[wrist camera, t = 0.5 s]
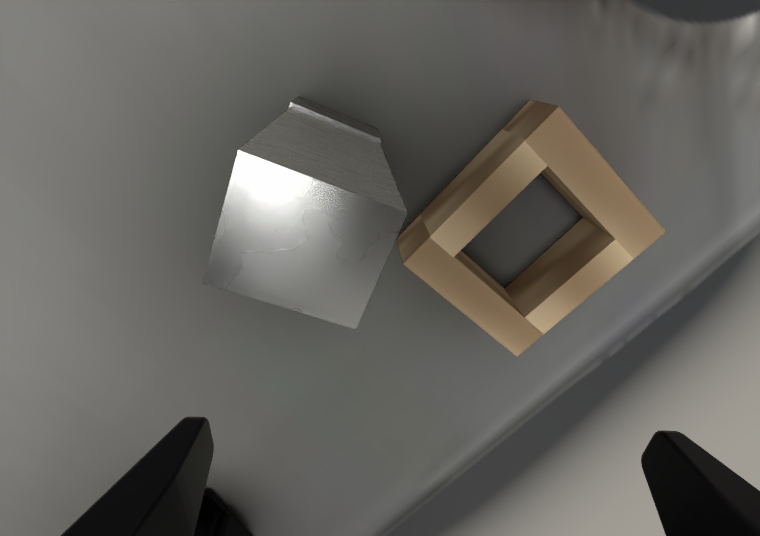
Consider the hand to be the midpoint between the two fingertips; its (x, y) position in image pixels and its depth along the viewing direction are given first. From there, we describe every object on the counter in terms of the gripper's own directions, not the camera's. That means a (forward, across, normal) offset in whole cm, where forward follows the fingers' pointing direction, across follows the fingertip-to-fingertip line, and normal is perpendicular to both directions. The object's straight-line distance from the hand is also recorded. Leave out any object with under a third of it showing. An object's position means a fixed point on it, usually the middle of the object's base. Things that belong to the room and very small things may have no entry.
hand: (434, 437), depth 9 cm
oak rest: (+14, -6, +2) cm, 16 cm away
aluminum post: (+14, +3, -2) cm, 15 cm away
